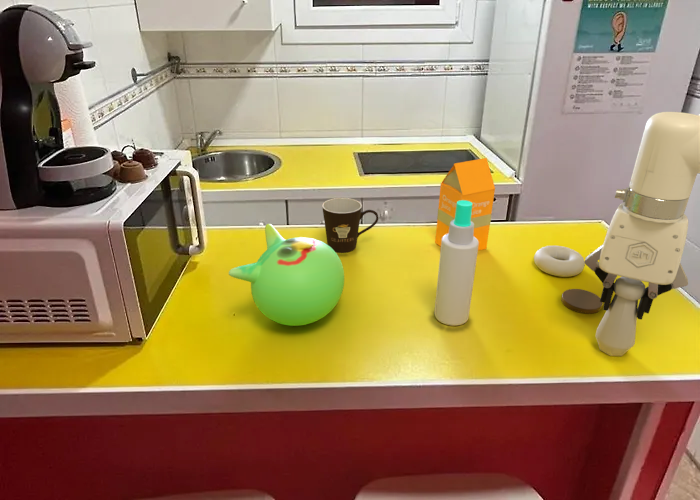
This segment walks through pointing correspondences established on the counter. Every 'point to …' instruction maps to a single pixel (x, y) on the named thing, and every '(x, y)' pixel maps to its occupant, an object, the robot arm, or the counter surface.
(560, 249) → the donut
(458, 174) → the orange juice
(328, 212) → the coffee mug
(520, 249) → the counter surface
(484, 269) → the counter surface
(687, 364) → the counter surface
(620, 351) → the salt shaker
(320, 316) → the toy bird
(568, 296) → the coaster
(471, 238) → the spray bottle
